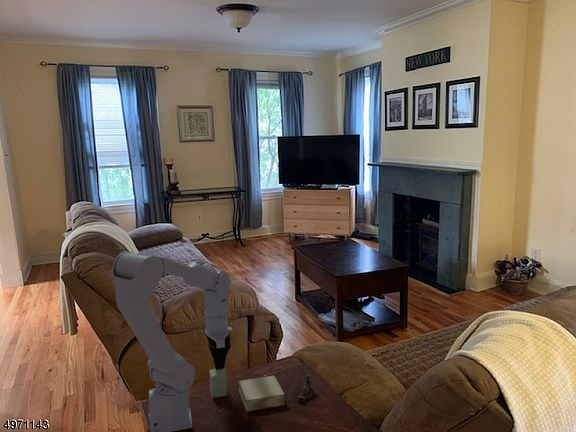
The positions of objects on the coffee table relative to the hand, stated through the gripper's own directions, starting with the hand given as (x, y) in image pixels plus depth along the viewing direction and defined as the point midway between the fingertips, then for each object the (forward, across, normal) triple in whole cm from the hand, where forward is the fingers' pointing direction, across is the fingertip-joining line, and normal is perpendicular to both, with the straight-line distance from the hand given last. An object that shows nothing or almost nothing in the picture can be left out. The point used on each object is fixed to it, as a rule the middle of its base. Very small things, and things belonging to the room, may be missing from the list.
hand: (217, 362), depth 115 cm
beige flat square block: (+9, -6, -10) cm, 15 cm away
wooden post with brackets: (+9, -8, -22) cm, 25 cm away
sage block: (+9, 0, 0) cm, 9 cm away
